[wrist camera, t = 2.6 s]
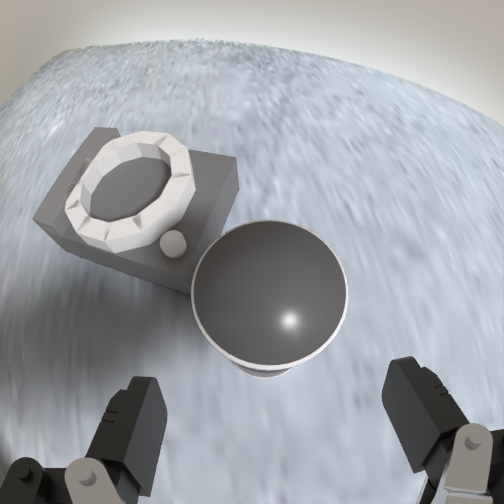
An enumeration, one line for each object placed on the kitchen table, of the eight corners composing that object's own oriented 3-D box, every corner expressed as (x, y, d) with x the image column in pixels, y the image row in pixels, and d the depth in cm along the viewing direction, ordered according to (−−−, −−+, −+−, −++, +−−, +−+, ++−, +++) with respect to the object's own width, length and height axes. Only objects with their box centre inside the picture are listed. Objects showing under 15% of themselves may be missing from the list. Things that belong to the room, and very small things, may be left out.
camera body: (65, 251, 21) (32, 218, 16) (115, 166, 25) (95, 127, 20) (196, 296, 19) (177, 266, 15) (239, 188, 23) (234, 141, 18)
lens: (215, 366, 17) (168, 339, 8) (239, 295, 19) (221, 204, 10) (292, 388, 17) (330, 386, 8) (311, 314, 19) (359, 238, 10)
